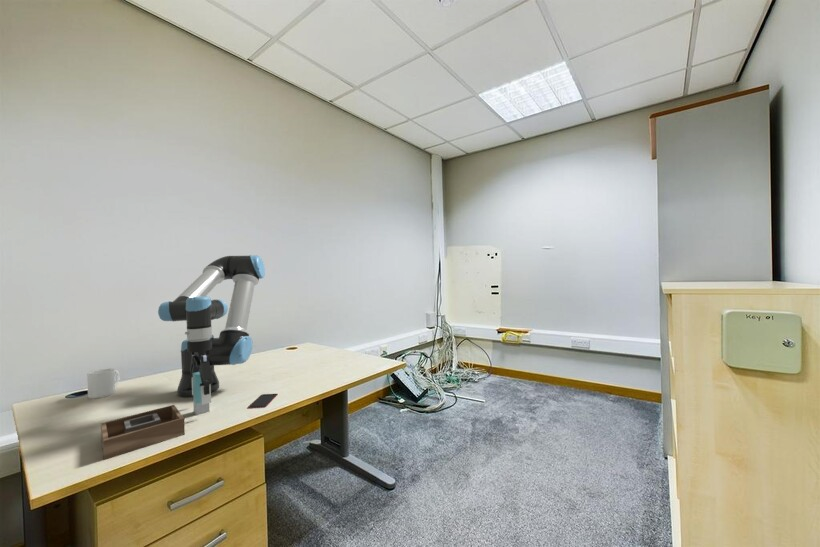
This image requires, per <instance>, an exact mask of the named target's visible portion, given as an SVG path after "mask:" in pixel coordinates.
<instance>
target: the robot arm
mask: <svg viewBox="0 0 820 547" xmlns="http://www.w3.org/2000/svg"><path fill="white" fill-rule="evenodd" d="M265 272H266V271H265V264H264V261H263V259H262V258H261V256H259V255H252V254H250V255H227V256H222V257H219V258H217V259H215V260H214V261H212V262H210V263H209V264H208V265H207V266H205V267H203V269H202V273H201V274H200V275H199V276H198V277H197V278H196V279H195V280H194V281H193V282H191V284H190V285H189V286H188V287H187V288H186V289H184V290H183V292H182V293H180V294H179V295H178V296H177V297H176V298H175V299H174V300H173V301H164V302H162V303H161V304H160V305H159V306H158V311H157V313H158V317H159V319H160V320H161V321H162V322H183V321H185V322H186V331H185V333H184V335H186V339H184V340H183V341H182V342H181V345H180V346H181V347H180V355H181V356H180V357H181V359H180V360H181V377H180V380H179V383H178V386H177V389H176V395H177V396H178V397H182V398H189V397H190V398H191V397H193V373H196V372H199V373H200V377H201V382H202V383H201V384H200V385H199V386H201V404H202V405H203V404H207V403H209V404H210V403H212V395H211V394H212V392H215V391H217V390H218V389H220V380H219V378H218V376H217V374H216V371H215V366H235V365H241V364H244V363H246V362H247V361H248V360H249V358H250V356H251V354H252V351H253V346H254V345H253V339H252V337H251V336H250V333H249V331H247V329H248V323H249V318H250V312H251V307H252V301H253V296H254V289H255V286H257V285H258V284H259V282H260V281H259V280H261V279H265V278H264V277H265V274H266V273H265ZM226 280H232V281H233V283H234V286H233V290H232V295H231V299H230V304H229V308H228V304H227V303H226V301H224V300H222V299H212V300H211V298H210V296H208V295H209V294H210V293H211V291H213V289H214V288H215V287H216V286H217V285H218V284H221V283H223V281H226ZM227 313H228V314H227ZM226 315H227V317H226V318H227V319H226V323H225V326H224V329H222V330H221V331H220V332H219V336H218V337H215V336H214V335H213V332H212V331H213V329H212V328H213V327H212V321H213V320H218V319H221V318H223V317H224V316H226ZM206 380H208V381H206Z"/></svg>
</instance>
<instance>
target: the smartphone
mask: <svg viewBox="0 0 820 547" xmlns="http://www.w3.org/2000/svg"><path fill="white" fill-rule="evenodd" d="M277 396H278V393H264V394H262V393H261V395H259V396H258V397H257V398H256V399H255V400H254V401H252V402H251V403H250V404H249V405H248V406H247V408H246V409H248V410H249V409H251V410H252V409H265V408H267V407H268V406H269V405H270V403H272V402H273V401H274V399H275V398H276V397H277Z"/></svg>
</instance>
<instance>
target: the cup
mask: <svg viewBox="0 0 820 547" xmlns="http://www.w3.org/2000/svg"><path fill="white" fill-rule="evenodd" d="M86 374H87V375H86V376H87V378H86V379H87V396H88V398H89V399H100V398H99V397H101V398H104V396H105V397H108V395H109V396H111V395H113V394H114V393H115V392H116V386H117V385H118V384H119V382H120V372H119V371H118V370H116V369H115V368H111V367H110V368H102V369H96V370H92V371H89V372H87V373H86ZM115 376H116V378H115ZM110 394H111V395H110Z"/></svg>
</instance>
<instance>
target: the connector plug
mask: <svg viewBox="0 0 820 547" xmlns="http://www.w3.org/2000/svg"><path fill="white" fill-rule="evenodd" d="M206 381H208V380H206ZM201 383H202V382H201V377H200V373H199V372H196V373H193V396H192V397H193V398H192V400H193V401H192V402H193V413H194V414H195V415H196V416H198V415H202V414H206V413H209V412H210V403H207V404H203V405H202V404H201V386H199V385H200V384H201Z"/></svg>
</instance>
